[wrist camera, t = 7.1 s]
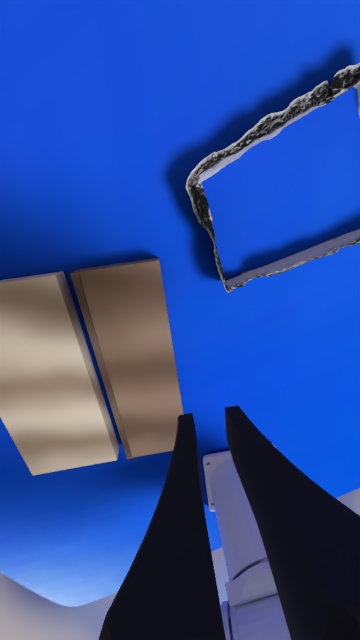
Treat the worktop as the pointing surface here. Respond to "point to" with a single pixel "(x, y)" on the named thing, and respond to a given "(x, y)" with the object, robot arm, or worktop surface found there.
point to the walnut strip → (133, 351)
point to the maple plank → (50, 378)
